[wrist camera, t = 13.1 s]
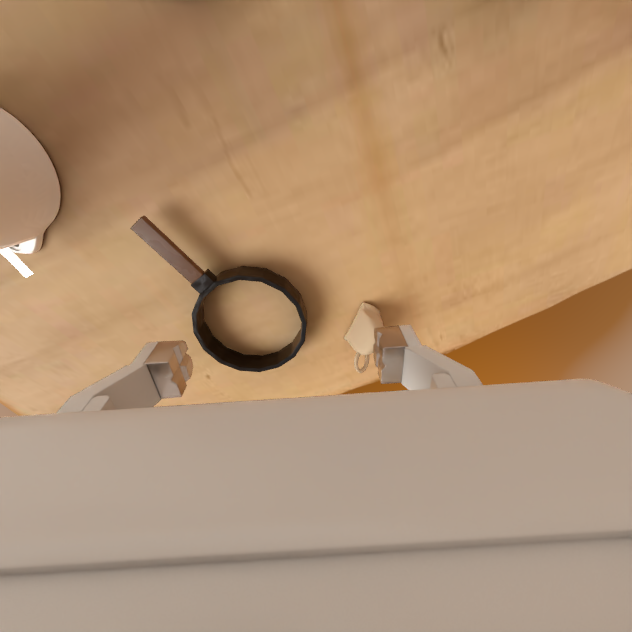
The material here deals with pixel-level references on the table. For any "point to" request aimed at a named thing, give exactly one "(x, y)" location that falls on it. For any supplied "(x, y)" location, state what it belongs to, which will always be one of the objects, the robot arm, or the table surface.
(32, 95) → the table surface
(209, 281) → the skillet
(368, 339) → the decorative ornament
